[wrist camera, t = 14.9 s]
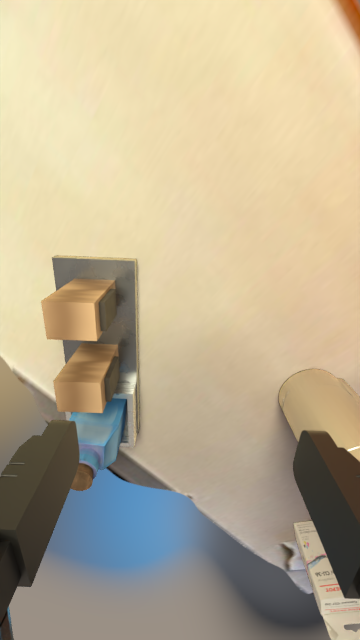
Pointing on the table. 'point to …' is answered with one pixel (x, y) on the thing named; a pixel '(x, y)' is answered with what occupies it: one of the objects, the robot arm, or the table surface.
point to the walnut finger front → (80, 310)
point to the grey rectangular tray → (120, 329)
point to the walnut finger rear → (88, 379)
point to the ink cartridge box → (326, 585)
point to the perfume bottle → (98, 440)
